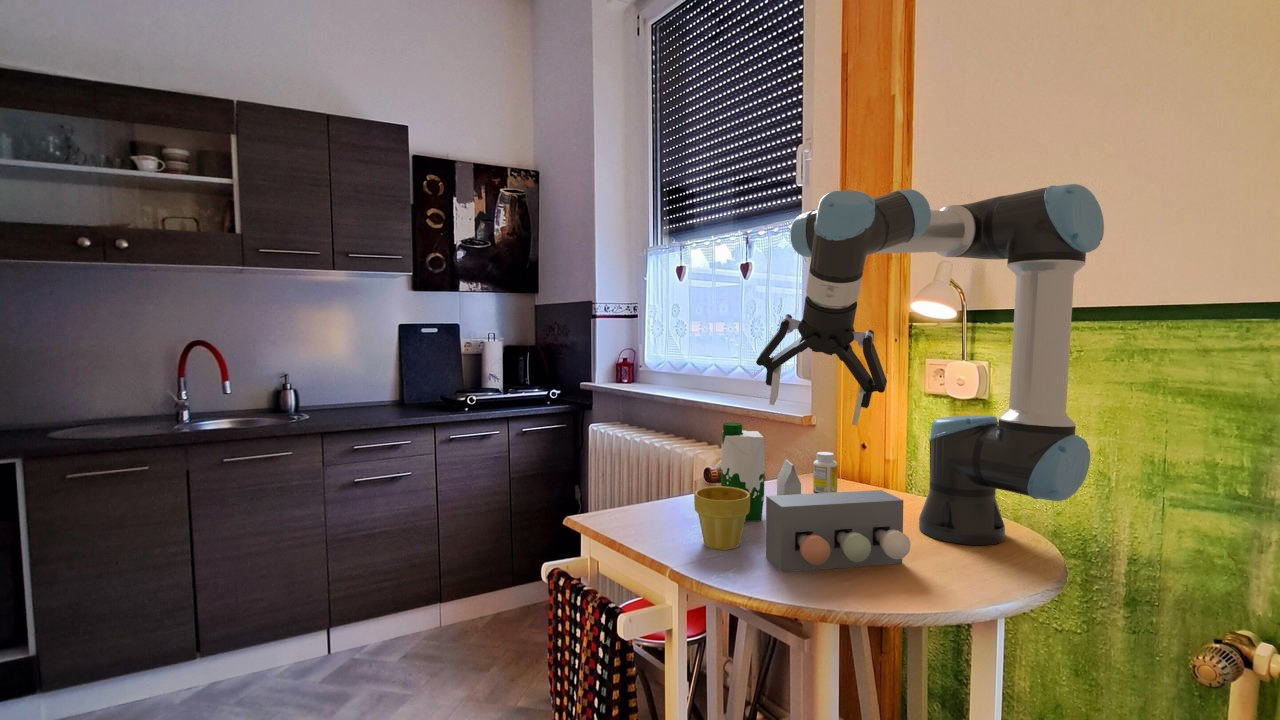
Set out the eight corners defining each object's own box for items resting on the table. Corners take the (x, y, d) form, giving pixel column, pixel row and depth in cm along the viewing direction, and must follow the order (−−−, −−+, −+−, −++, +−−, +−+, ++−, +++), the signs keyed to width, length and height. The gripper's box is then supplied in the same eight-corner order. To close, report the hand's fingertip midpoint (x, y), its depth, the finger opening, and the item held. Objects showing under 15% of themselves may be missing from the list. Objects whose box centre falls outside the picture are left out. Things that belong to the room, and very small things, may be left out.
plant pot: (747, 555, 116) (748, 501, 115) (690, 551, 118) (690, 498, 117) (751, 537, 126) (751, 487, 125) (698, 533, 128) (698, 484, 127)
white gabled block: (784, 510, 144) (784, 465, 143) (777, 502, 150) (777, 459, 150) (800, 510, 144) (801, 465, 143) (792, 502, 151) (793, 459, 150)
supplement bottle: (834, 492, 159) (835, 451, 158) (839, 498, 153) (839, 455, 153) (811, 492, 159) (811, 450, 159) (815, 498, 154) (815, 455, 153)
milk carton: (719, 510, 144) (719, 421, 143) (760, 510, 143) (760, 420, 142) (723, 522, 135) (723, 427, 134) (767, 522, 135) (767, 427, 134)
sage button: (853, 549, 111) (853, 523, 110) (870, 561, 105) (871, 534, 105) (828, 550, 110) (829, 525, 110) (845, 563, 104) (845, 536, 104)
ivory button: (890, 546, 112) (891, 521, 111) (910, 558, 106) (910, 531, 106) (867, 548, 111) (867, 522, 111) (885, 560, 105) (885, 533, 105)
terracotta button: (814, 551, 109) (814, 526, 109) (830, 564, 104) (830, 537, 103) (789, 553, 109) (790, 527, 108) (804, 566, 103) (804, 538, 103)
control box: (880, 549, 118) (881, 490, 118) (902, 563, 111) (903, 500, 111) (765, 557, 115) (766, 495, 114) (781, 572, 108) (781, 506, 107)
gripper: (742, 293, 98) (734, 404, 110) (918, 326, 89) (888, 443, 101) (757, 273, 104) (747, 380, 115) (923, 301, 95) (894, 415, 106)
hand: (813, 410), depth 108 cm, fingers open, 13 cm apart
